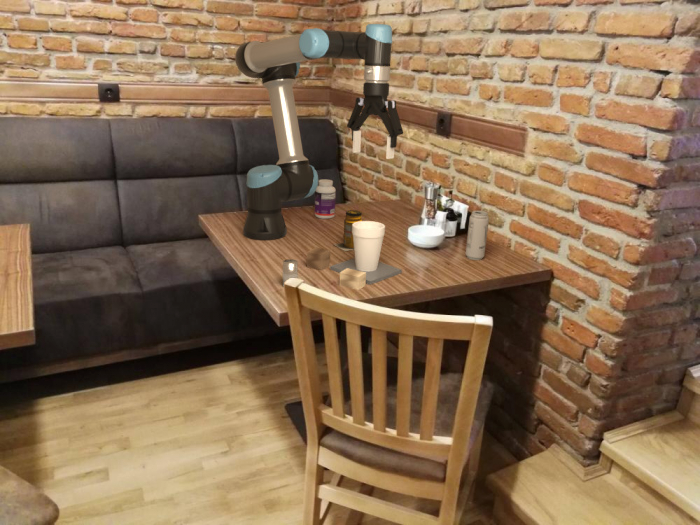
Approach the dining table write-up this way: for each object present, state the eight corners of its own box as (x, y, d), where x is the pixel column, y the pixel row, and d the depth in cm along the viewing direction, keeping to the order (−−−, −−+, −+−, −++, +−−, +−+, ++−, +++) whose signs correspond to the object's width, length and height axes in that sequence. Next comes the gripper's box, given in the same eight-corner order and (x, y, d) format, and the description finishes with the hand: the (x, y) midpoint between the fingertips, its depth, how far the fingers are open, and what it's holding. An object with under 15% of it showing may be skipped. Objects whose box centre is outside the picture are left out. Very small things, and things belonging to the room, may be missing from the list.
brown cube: (306, 267, 166) (307, 251, 164) (315, 262, 170) (316, 247, 169) (321, 270, 164) (321, 255, 162) (329, 266, 168) (330, 250, 166)
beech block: (339, 285, 154) (339, 272, 153) (346, 281, 157) (347, 268, 156) (358, 290, 151) (359, 276, 150) (365, 285, 155) (366, 272, 153)
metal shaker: (279, 285, 152) (279, 261, 150) (291, 281, 155) (291, 258, 152) (289, 289, 150) (289, 265, 147) (300, 286, 152) (300, 262, 150)
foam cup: (367, 275, 159) (370, 232, 154) (344, 267, 164) (345, 224, 160) (388, 267, 165) (391, 225, 161) (365, 259, 171) (367, 219, 167)
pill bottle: (314, 214, 223) (314, 178, 218) (334, 214, 224) (335, 178, 219) (315, 219, 215) (315, 182, 210) (335, 219, 216) (336, 183, 211)
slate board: (330, 269, 165) (330, 266, 165) (361, 258, 175) (362, 255, 175) (370, 284, 155) (370, 281, 155) (401, 272, 165) (401, 269, 164)
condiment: (366, 247, 185) (368, 213, 181) (345, 251, 181) (346, 216, 177) (354, 241, 191) (355, 207, 187) (333, 245, 187) (334, 210, 183)
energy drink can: (482, 261, 176) (488, 216, 171) (463, 259, 178) (468, 213, 173) (485, 256, 182) (490, 211, 177) (466, 253, 184) (471, 209, 178)
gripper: (337, 79, 167) (335, 150, 174) (401, 84, 151) (396, 162, 158) (354, 79, 172) (351, 148, 179) (418, 84, 156) (413, 160, 163)
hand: (372, 155), depth 169 cm, fingers open, 13 cm apart
